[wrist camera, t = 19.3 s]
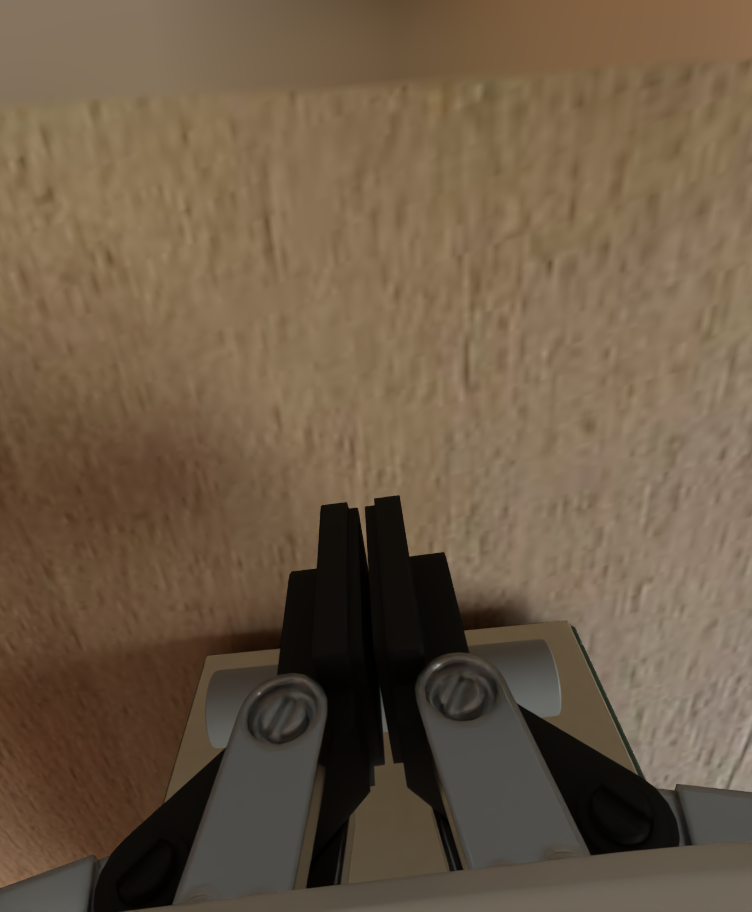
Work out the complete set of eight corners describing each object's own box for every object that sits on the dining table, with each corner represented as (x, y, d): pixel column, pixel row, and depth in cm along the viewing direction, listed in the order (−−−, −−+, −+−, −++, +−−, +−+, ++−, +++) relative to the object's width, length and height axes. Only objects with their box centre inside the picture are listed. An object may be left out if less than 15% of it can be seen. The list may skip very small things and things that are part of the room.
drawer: (169, 547, 16) (27, 851, 9) (577, 505, 16) (753, 784, 9) (278, 865, 24) (247, 1155, 17) (549, 840, 24) (629, 1124, 17)
